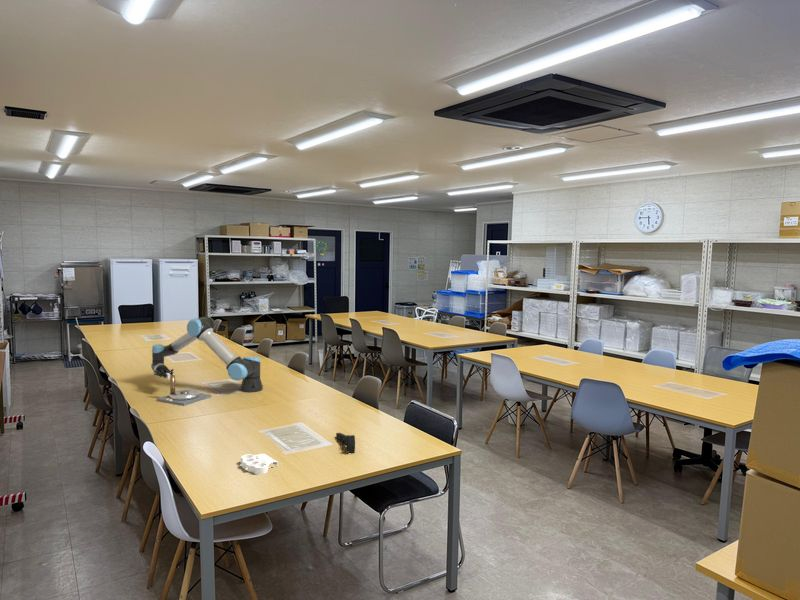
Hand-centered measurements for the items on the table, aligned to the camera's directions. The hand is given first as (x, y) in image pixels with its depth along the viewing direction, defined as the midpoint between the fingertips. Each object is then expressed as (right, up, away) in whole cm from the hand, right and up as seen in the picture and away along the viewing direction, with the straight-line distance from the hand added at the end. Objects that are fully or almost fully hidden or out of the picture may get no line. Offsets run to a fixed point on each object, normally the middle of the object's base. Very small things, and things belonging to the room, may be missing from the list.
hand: (169, 376), depth 345 cm
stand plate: (+11, -14, -3) cm, 18 cm away
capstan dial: (+11, -12, -3) cm, 17 cm away
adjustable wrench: (+123, -23, -80) cm, 148 cm away
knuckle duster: (+87, -25, -108) cm, 141 cm away
